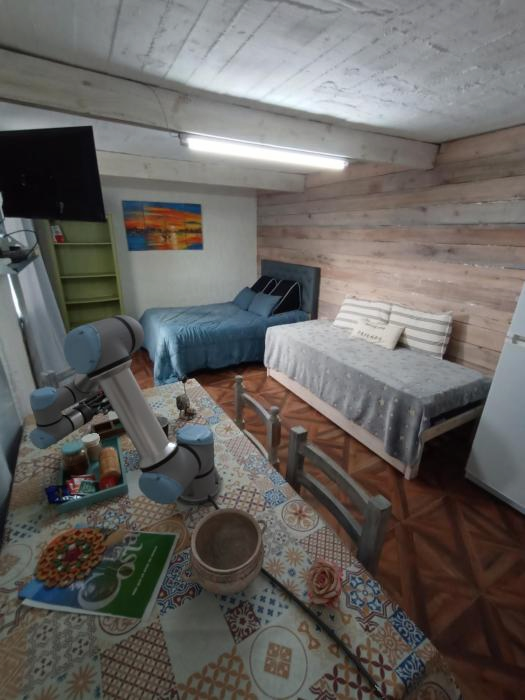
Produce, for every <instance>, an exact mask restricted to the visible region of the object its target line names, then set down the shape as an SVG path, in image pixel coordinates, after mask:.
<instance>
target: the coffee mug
mask: <svg viewBox="0 0 525 700" xmlns="http://www.w3.org/2000/svg"><path fill="white" fill-rule="evenodd" d="M156 418H157V420H158V422H159V423H160V425H161V427H162V429H163V431H164V433H165V435H166V436H167V438H168V439H169V429H170V420H169V418H168V417H167V416H160V415H159V416H158V415H157V416H156Z"/></svg>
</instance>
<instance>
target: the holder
mask: <svg viewBox="0 0 525 700" xmlns="http://www.w3.org/2000/svg"><path fill="white" fill-rule="evenodd" d="M90 430H91V434H92V433H97V434H99V436H100V439H101V440H100V441H102V440H105V439H108V438H113V437H115V436H119V435H122V434H125V433H127V432H126V431H125V429H124V427H123V425H122V423H121V422H120V420H119V418H118V417H116V418H113V419H110V420H106V421H102V422H99V423H94V424H91V425H90Z"/></svg>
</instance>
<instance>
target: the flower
mask: <svg viewBox="0 0 525 700" xmlns="http://www.w3.org/2000/svg"><path fill="white" fill-rule="evenodd" d="M343 577H344V573H343V572H342V569H341V568H339V566H338V565H337V564H336V563H335V562H334V561H330V560H327V559H324V558H322V557H316V558H315V559H314V562H313V564H312V565H311V566H310V568H309V570H308V574H307V583H306V584H307V585H306V587H307V596H308V597H309V599H310V601H311V602H312V603H313V604H315V605H323V606H326V608H327V609H330V608H331V609H332V608H333V607H332V606H333V605H335V604H337V603H338V602H339V601H341V597H340V595H341V594H342V595H344V594H343V592H342V584H343V581H344V579H343ZM340 593H341V594H340Z"/></svg>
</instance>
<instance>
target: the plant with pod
mask: <svg viewBox="0 0 525 700" xmlns="http://www.w3.org/2000/svg"><path fill="white" fill-rule="evenodd" d="M187 382H188V377H187V375H186V374H184V375H183V376H182V377H181V383H182V384H183V388H184V392H183V393H182V394H181V393H180V394H179V395H177V396H175V406H176V409H177V410H178V411H179V418H178V419H179V420H180V419H182V420H186V421H189V420H192V419H193V418H194V417H195V416H196V415H197V413H198V410H197V409H196V408H193V407H191V401H190V398H189V396H188V394H187V391H186V385H185V384H186V383H187Z"/></svg>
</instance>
